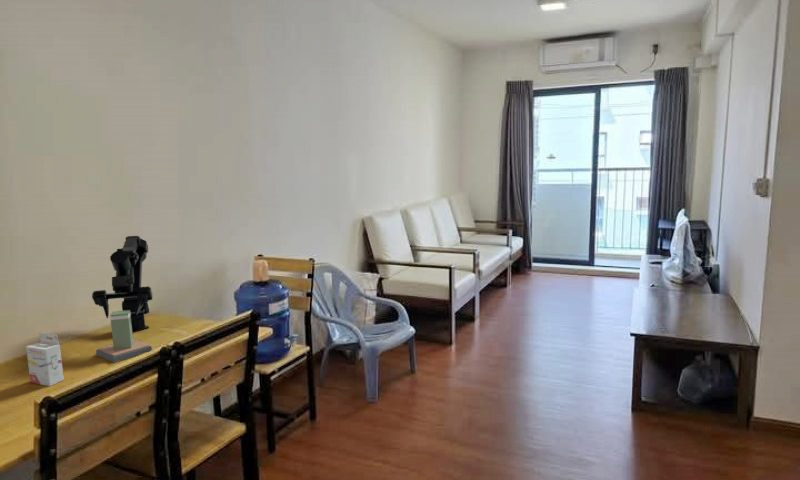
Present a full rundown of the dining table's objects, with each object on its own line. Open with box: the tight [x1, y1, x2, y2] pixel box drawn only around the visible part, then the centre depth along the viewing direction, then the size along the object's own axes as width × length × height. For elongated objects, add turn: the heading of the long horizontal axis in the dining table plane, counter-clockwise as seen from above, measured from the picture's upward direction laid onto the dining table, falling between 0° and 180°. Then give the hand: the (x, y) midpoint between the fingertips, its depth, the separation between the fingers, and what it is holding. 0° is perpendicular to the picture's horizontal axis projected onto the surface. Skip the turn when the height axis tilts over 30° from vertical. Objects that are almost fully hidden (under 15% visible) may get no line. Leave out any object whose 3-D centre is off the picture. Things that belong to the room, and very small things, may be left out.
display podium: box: [95, 338, 153, 364], centre depth 185 cm, size 13×13×2 cm
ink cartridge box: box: [25, 332, 65, 387], centre depth 160 cm, size 9×5×15 cm, turn 71°
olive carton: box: [109, 310, 134, 350], centre depth 184 cm, size 6×5×12 cm
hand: (121, 316), depth 185 cm, fingers open, 9 cm apart
